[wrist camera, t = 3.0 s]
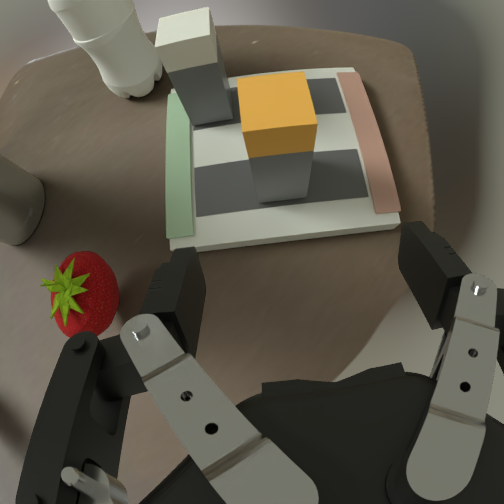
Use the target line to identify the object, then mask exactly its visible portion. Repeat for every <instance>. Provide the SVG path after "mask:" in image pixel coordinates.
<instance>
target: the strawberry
mask: <svg viewBox="0 0 504 504" xmlns="http://www.w3.org/2000/svg"><path fill="white" fill-rule="evenodd" d="M41 280H42V281H43V283H44V285H40V286H46V287H47V289H48V290H49V291H50V292H51V305H52V312H51V317H50V318H51V319H52V318H53V316H54V317H55V320H56V323H57V324H58V326H59V328H60V329H61V331H62V332H63V333H64V334H65V335H66V336H68V337H70V338H71V337H72V336H73V335H75V334H77V333H79V332H83V331H90V332H93V333H94V334H95V335H96V336H98V335H99V334H101V333H102V332H104V331H105V330H106V329H107V328H108V327H109V326H110V324H111V323H112V321H113V319H114V316H115V314H116V312H117V309H118V305H119V289H118V285H117V280H116V277H115V275H114V272H113V271H112V269H111V268H110V267H109V265H108V264H107V263H106V262H105V261H104V260H103V259H102V258H101V257H100V256H99V255H98V254H96V253H94V252H90V251H81V252H75V253H73V254H71V255H70V256H68V257H67V258H66V259H65V260H64V261H63V262H62V264H61V266H60V267H59V268H58V267H57V265H56V264H55V274H54V280H53V281H50V280H46V279H41Z"/></svg>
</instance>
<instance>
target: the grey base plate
mask: <svg viewBox="0 0 504 504" xmlns="http://www.w3.org/2000/svg"><path fill="white" fill-rule="evenodd" d="M155 49H156V51H157V53H158V56H159V58H160V60H161V62H162V64H163V66H164V68H165V70H166V72H167V74H168V76H169V78H170V80H171V82H172V84H173V87H174V89H171V94H168V105H167V128H166V176H165V194H166V238H167V239H170V250H171V251H172V252H174V250H175V249H176V248H184V247H192V246H194V247H195V248H196V251H197V252H203V251H211V250H219V249H227V248H236V247H244V246H252V245H261V244H269V243H277V242H286V241H294V240H303V239H311V238H320V237H329V236H337V235H346V234H355V233H363V232H372V231H381V230H390V229H394V228H395V227H397V226H398V225H399V224H400V223H401V222H400V217H399V213H398V212H401V207H400V203H399V198H398V194H397V190H396V186H395V182H394V179H393V175H392V171H391V167H390V164H389V160H388V157H387V154H386V150H385V147H384V144H383V140H382V137H381V134H380V131H379V128H378V125H377V122H376V119H375V116H374V113H373V110H372V107H371V104H370V102H369V99H368V96H367V94H366V91H365V88H364V86H363V83H362V81H361V78H360V75H359V73H358V72H355V70H354V68H319V69H302V70H289V71H278V72H268V73H260V74H252V75H244V76H238V77H231V78H228V77H227V73H226V70H225V66H224V62H223V58H222V54H221V50H220V46H219V42H218V39H217V35H216V31H215V27H214V24H213V20H212V16H211V12H210V8H209V7H206V8H201V9H196V10H191V11H187V12H182V13H178V14H174V15H170V16H167V17H163V18H160V19H159V23H158V29H157V35H156V42H155ZM302 71H304V73H305V77H306V80H307V84H308V88H309V91H310V95H311V99H312V103H313V107H314V111H315V115H316V119H317V123H318V126H317V133H316V140H315V146H314V153H313V160H312V166H311V172H310V179H309V185H308V191H307V197H306V198H298V199H289V200H281V201H272V202H264V203H259V201H258V197H257V192H256V188H255V184H254V179H253V175H252V171H251V167H250V162H249V158H248V154H247V150H246V146H245V142H244V137H243V133H242V125H241V116H240V106H239V97H238V88H237V79H238V78H245V77H252V76H260V75H269V74H279V73H289V72H302Z"/></svg>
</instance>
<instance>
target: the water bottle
mask: <svg viewBox="0 0 504 504" xmlns="http://www.w3.org/2000/svg"><path fill="white" fill-rule="evenodd" d="M48 3H49V6H50V8H51V10H52V11H54V12H55V13H56V14H57V16H58V17H59V19H60V20H61V21H62V23H63V24H64V25H65V26H66V28H67V29H68V31H69V32H70V34H71V35H72V36H73V40H74V42H75V43H76V44H78V45H79V46H80V47H82V48H83V49H84V50H85V51H86V52H87V53H88V54H89V55H90V56H91V58H92V59H93V60H94V62H95V63H96V65H97V67H98V69H99V71H100V73H101V76H102V79H103V81H104V82H105V84H106V85H107V87H108V88H109V89H110V90H111V91H112V92H113V93H115V94H116V95H118V96H120V97H122V98H129V97H130V95H132V96H135V97H142V96H145V95H147V94H148V93H150V92H151V90H152V89H153V87H154V80H155V81H158V80H160V78H161V76H162V62H161V60H160V58H159V56H158V53H157V51H156V49H155V46H154V45H153V44H152V43H151V42H150V41H149V39H148V38H147V37H146V35H145V33H144V31H143V30H142V28H141V25H140V23H139V20H138V17H137V14H136V10H135V5H134V2H133V1H132V0H48Z"/></svg>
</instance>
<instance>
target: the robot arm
mask: <svg viewBox="0 0 504 504" xmlns="http://www.w3.org/2000/svg"><path fill="white" fill-rule="evenodd" d="M44 201H45V193H44V187H43V185H42V183H41V181H40V180H39V179H38V178H36V177H35V176H33V175H32V174H30V173H28V172H27V171H25V170H24V169H22V168H21V167H19V166H18V165H16V164H15V163H13V162H12V161H10V160H9V159H7V158H5V157H4V156H2V155H1V154H0V241H1V242H4V243H7V244H10V245H19V244H21V243H23V242H24V241H26V240H27V239H28V238H29V237H30V236H31V234H32V233H33V232H34V230H35V228H36V227H37V225H38V223H39V220H40V218H41V215H42V212H43V208H44ZM398 264H399V269H400V271H401V273H402V275H403V277H404V279H405V280H406V282H407V284H408V286H409V287H410V289H411V291H412V293H413V295H414V297H415V298H416V300H417V302H418V304H419V306H420V308H421V310H422V311H423V313H424V315H425V317H426V319H427V321H428V323H429V325H430V327H431V329H432V330H433V329H438V328H442V327H443V329H444V330H445V331H444V334H443V336H442V340H441V343H440V346H439V349H438V353H437V356H436V359H435V362H434V365H433V368H432V371H431V374H430V376H429V377H428V376H425V375H422V374H418V373H412V372H404V369H403V366H402V364H401V362H400V363H395V364H391V365H386V366H382V367H376V368H370V369H367V370H365V371H363V372H360V373H358V374H356V375H353V376H351V377H348V378H346V379H343V380H341V381H338V382H322V381H309V380H299V379H297V380H287V381H277V382H266V383H262V393H260V394H257V395H254V396H252V397H250V398H247V399H246V400H244V401H242V402H240V403H239V404H237V405H236V406H234V405H233V403H232V402H231V401H230V400H229V399H228V398H227V397H226V396H225V394H224V393H223V392H222V391H221V390H220V389H219V388H218V386H217V385H216V384H215V383H214V382H213V381H212V379H211V378H210V377H209V376H208V375H207V374H206V372H205V371H204V370H203V369H202V368H201V366H200V365H199V364H198V363H197V362H196V360H195V356H196V350H197V344H198V337H199V331H200V325H201V319H202V313H203V307H204V301H205V295H206V285H205V279H204V276H203V272H202V268H201V265H200V261H199V258H198V254H197V251H196V248H195V247H194V246H192V247H184V248H176V249H175V250H174V252H173V255H172V257H171V260H170V262H167V263H163V264H162V265H161V266H160V267H159V268H158V269H157V270H156V271H155V274H154V276H153V279H152V283H151V284H150V287H149V290H148V292H147V294H146V297H145V300H144V302H143V305H142V308H141V311H140V313H139V315H138V316H135V317H133V318H131V319H130V320H128V321H127V322H126V323H125V324H124V326H123V327H122V329H121V331H120V334H119V335H117V336H113V337H110V338H106V339H103V340H100V341H99V339H98V337H97V336H96V335H95V334H94V333H93V332H90V331H83V332H79V333H77V334H75V335H73V336H72V337H71V338H70V339H69V340H68V341H67V342H66V343H65V345H64V347H63V349H62V352H61V354H60V357H59V359H58V362H57V364H56V367H55V369H54V372H53V374H52V377H51V380H50V382H49V385H48V388H47V390H46V393H45V396H44V399H43V402H42V405H41V408H40V411H39V414H38V417H37V420H36V423H35V426H34V429H33V432H32V436H31V439H30V443H29V446H28V450H27V453H26V457H25V461H24V465H23V469H22V473H21V477H20V481H19V486H18V490H17V495H16V504H128V495H127V491H126V488H125V487H124V485H123V484H122V483H121V482H120V481H119V480H117V476H118V469H119V462H120V455H121V449H122V442H123V436H124V431H125V425H126V419H127V414H128V409H129V403H130V398H131V395H135V394H138V393H142V392H146V391H148V392H149V393H150V395H151V397H152V398H153V400H154V402H155V403H156V405H157V406H158V408H159V410H160V411H161V413H162V414H163V416H164V418H165V419H166V421H167V422H168V424H169V425H170V427H171V428H172V430H173V431H174V433H175V434H176V436H177V437H178V439H179V440H180V442H181V443H182V445H183V446H184V447H185V449H186V450H187V452H188V453H189V454H188V455H187V457H186V458H185V459H184V460H183V461H182V462H181V463H180V464H179V465H178V466H177V467H176V468H175V469H174V470H173V471H172V472H171V473H170V474H169V475H168V476H167V477H166V478H165V479H164V480H163V481H162V482H161V483H160V484H159V485H158V486H157V487H156V488H155V489H154V490H153V491H152V492H150V493H149V494H148V495H147V496H146V497H145V498H144V499H143V500H142V501H141V502H140V503H139V504H504V424H502V423H501V422H499V421H498V420H496V419H495V418H493V417H491V416H490V415H488V414H487V413H486V412H487V408H488V404H489V399H490V394H491V389H492V384H493V378H494V372H495V366H496V359H497V361H498V363H499V365H500V367H501V369H502V371H503V373H504V289H500V288H496V285H495V284H494V282H493V281H492V280H490V279H489V278H488V277H486V276H484V275H481V274H476V273H472V272H471V271H470V270H469V268H468V267H467V266H466V264H465V263H464V262H463V261H462V259H461V258H460V257H459V256H458V254H456V252H455V251H454V250H453V248H451V246H450V245H449V244H448V242H447V241H446V240H445V239H444V238H443V237H441V236H439V235H438V234H436V233H435V232H431V231H430V230H429V229H428V227H427V226H426V225H425V224H424V223H423V222H422V221H416V222H407V223H403V225H402V229H401V238H400V246H399V254H398Z"/></svg>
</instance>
